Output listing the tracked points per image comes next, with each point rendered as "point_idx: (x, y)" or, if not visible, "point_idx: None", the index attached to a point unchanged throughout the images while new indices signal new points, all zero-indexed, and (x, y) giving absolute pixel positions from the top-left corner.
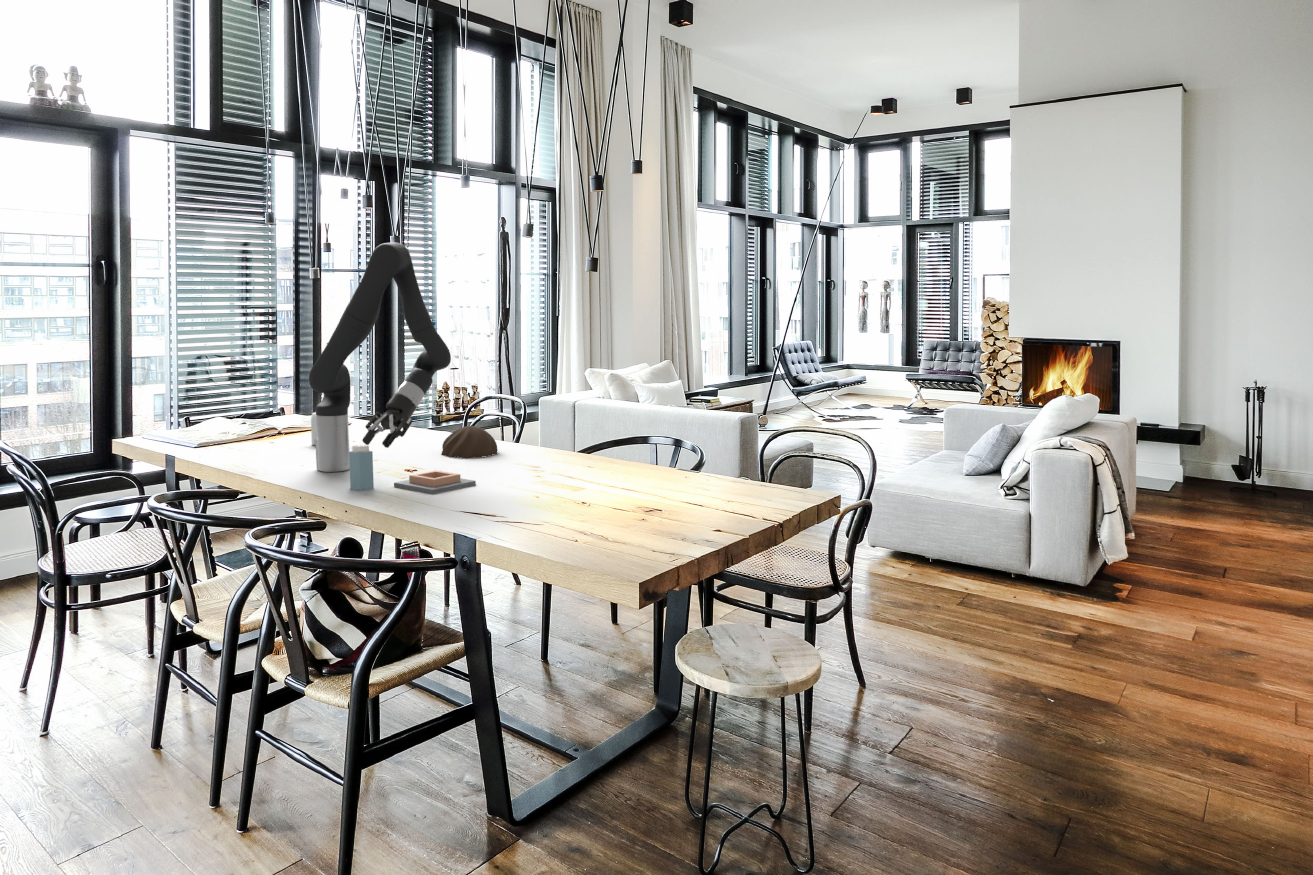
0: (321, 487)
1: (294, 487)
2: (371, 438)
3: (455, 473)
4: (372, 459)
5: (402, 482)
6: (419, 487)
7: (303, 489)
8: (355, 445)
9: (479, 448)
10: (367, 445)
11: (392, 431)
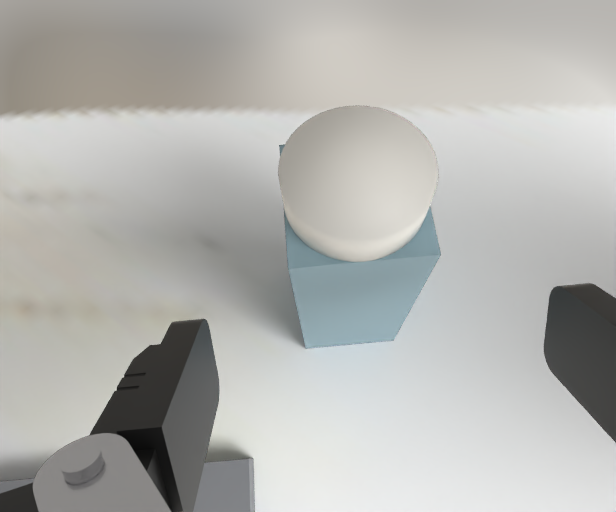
0: (509, 189)
1: (584, 117)
2: (605, 409)
3: None
4: (293, 292)
5: (210, 505)
6: (7, 481)
7: (513, 122)
8: (436, 159)
9: None
10: (354, 234)
11: (68, 463)
